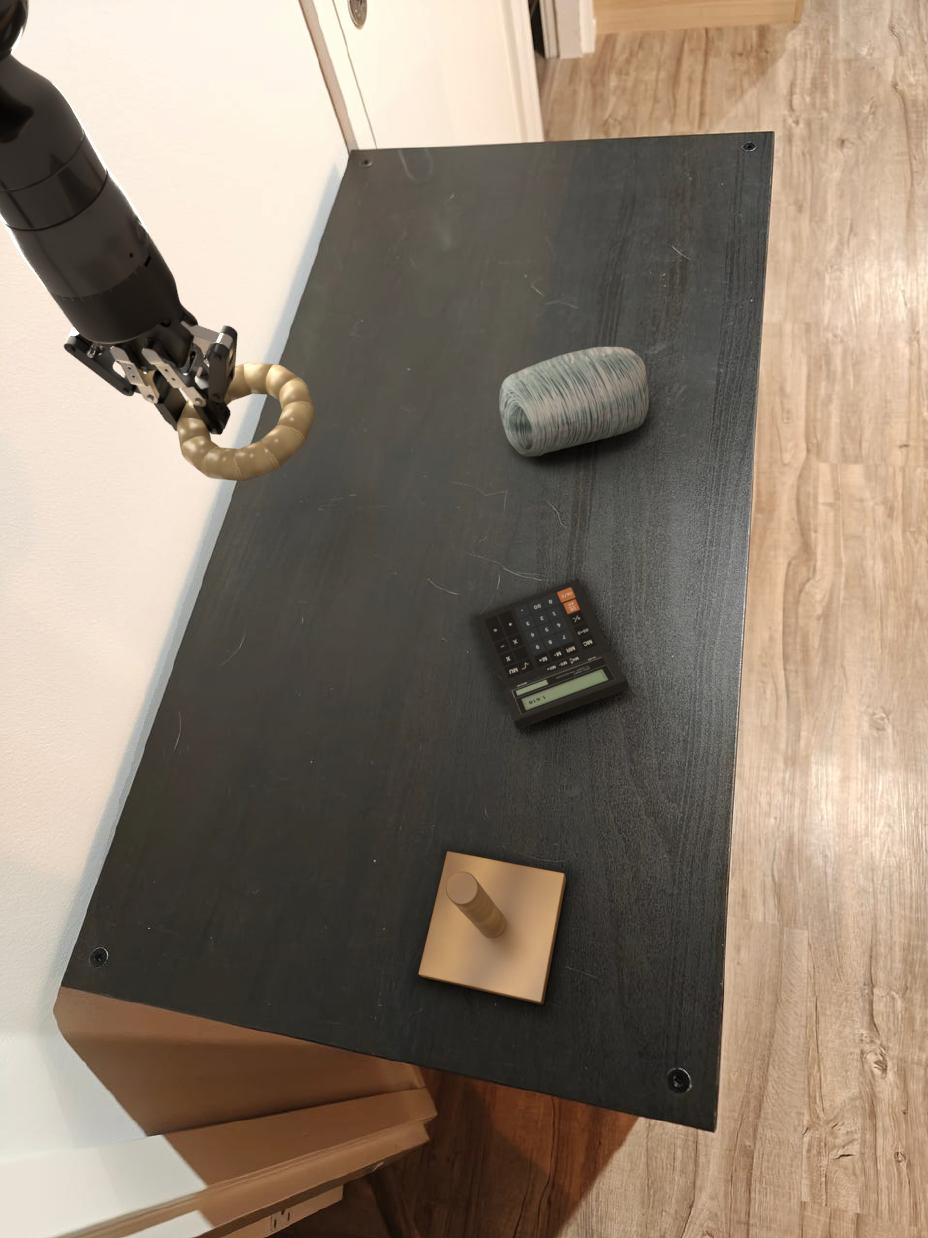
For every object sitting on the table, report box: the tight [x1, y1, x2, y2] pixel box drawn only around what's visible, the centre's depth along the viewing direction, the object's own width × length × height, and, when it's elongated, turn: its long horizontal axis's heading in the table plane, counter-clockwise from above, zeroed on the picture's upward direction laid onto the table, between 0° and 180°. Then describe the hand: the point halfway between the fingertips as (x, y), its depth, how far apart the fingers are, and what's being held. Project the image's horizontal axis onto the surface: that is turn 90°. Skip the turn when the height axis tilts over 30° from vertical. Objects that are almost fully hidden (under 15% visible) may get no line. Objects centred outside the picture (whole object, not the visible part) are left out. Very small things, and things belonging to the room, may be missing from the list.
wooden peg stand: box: [418, 850, 567, 1006], centre depth 64 cm, size 9×9×14 cm
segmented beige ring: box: [176, 362, 316, 482], centre depth 74 cm, size 11×11×2 cm
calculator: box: [475, 578, 630, 730], centre depth 77 cm, size 9×12×3 cm
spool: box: [498, 345, 650, 458], centre depth 86 cm, size 14×10×10 cm
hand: (203, 423), depth 75 cm, fingers closed on segmented beige ring, 2 cm apart
